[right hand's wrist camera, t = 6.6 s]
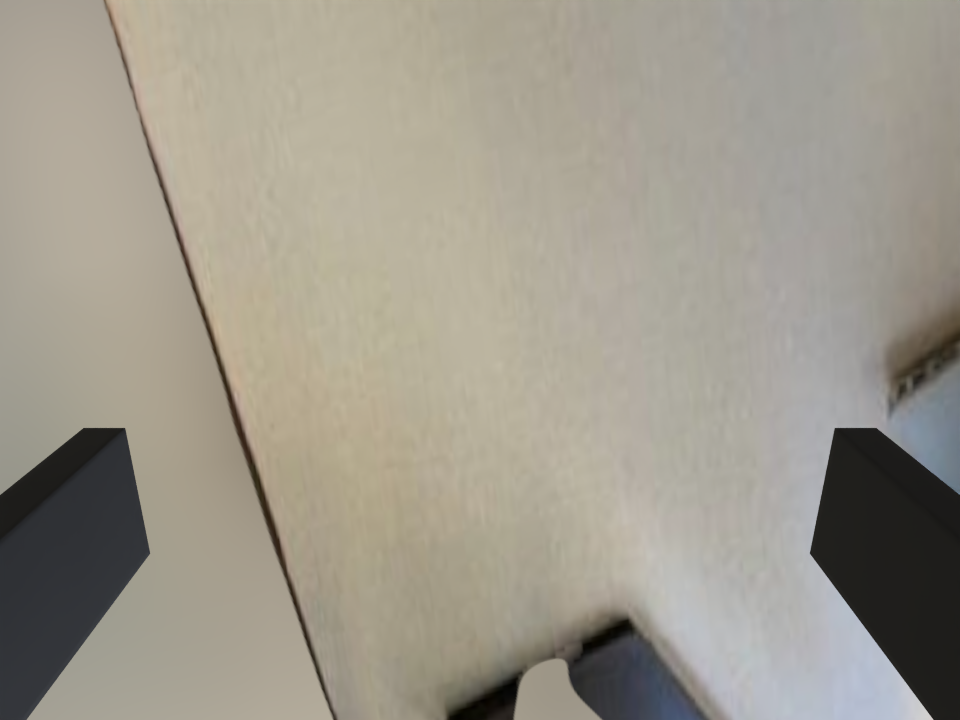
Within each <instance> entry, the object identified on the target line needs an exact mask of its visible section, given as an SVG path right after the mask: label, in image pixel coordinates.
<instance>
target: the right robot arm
mask: <svg viewBox="0 0 960 720" xmlns="http://www.w3.org/2000/svg"><path fill="white" fill-rule="evenodd" d="M149 554H150V551H149V546H148V541H147V536H146V531H145V526H144V521H143V516H142V510H141V505H140V501H139V495H138V490H137V485H136V480H135V476H134V470H133V465H132V460H131V455H130V450H129V445H128V440H127V435H126V430H125V428H83V429H82V430H81V431H79V432H78V433H77V434H76V435H75V436H73V437H72V438H71V439H69V440H68V441H67V442H66V443H65V444H63V445H62V446H61V447H60V448H58V449H57V450H56V451H55V452H53V453H52V454H51V455H50V456H48V457H47V458H46V459H45V460H43V461H42V462H41V463H40V464H38V465H37V466H36V467H35V468H33V469H32V470H31V471H30V472H28V473H27V474H26V475H25V476H23V477H22V478H21V479H20V480H18V481H17V482H16V483H15V484H13V485H12V486H11V487H10V488H9V489H7V490H6V491H5V492H4V493H2V494H1V495H0V720H27V718H28V717H29V715H30V714H31V713H32V711H33V710H34V709H35V707H36V706H37V705H38V703H39V702H40V701H41V699H42V698H43V697H44V695H45V694H46V693H47V691H48V690H49V689H50V687H51V686H52V685H53V683H54V682H55V681H56V679H57V678H58V676H59V675H60V674H61V672H62V671H63V670H64V668H65V667H66V666H67V664H68V663H69V662H70V660H71V659H72V658H73V656H74V655H75V654H76V652H77V651H78V650H79V648H80V647H81V646H82V644H83V643H84V642H85V640H86V639H87V637H88V636H89V635H90V633H91V632H92V631H93V629H94V628H95V627H96V625H97V624H98V623H99V621H100V620H101V619H102V617H103V616H104V615H105V613H106V612H107V611H108V609H109V608H110V607H111V605H112V604H113V603H114V601H115V600H116V599H117V597H118V596H119V594H120V593H121V592H122V590H123V589H124V588H125V586H126V585H127V584H128V582H129V581H130V580H131V578H132V577H133V576H134V574H135V573H136V572H137V570H138V569H139V568H140V566H141V565H142V564H143V562H144V561H145V559H146V558H147V557H148V556H149ZM810 554H811V556H812V557H813V558H814V560H815V561H816V562H817V564H818V565H819V566H820V568H821V569H822V570H823V572H824V573H825V574H826V576H827V577H828V578H829V580H830V581H831V582H832V584H833V585H834V586H835V588H836V589H837V590H838V592H839V593H840V595H841V596H842V597H843V599H844V600H845V601H846V603H847V604H848V605H849V607H850V608H851V609H852V611H853V612H854V613H855V615H856V616H857V617H858V619H859V620H860V621H861V623H862V624H863V625H864V627H865V628H866V629H867V631H868V632H869V633H870V635H871V636H872V638H873V639H874V640H875V642H876V643H877V644H878V646H879V647H880V648H881V650H882V651H883V652H884V654H885V655H886V656H887V658H888V659H889V660H890V662H891V663H892V664H893V666H894V667H895V668H896V670H897V671H898V672H899V674H900V675H901V677H902V678H903V679H904V681H905V682H906V683H907V685H908V686H909V687H910V689H911V690H912V691H913V693H914V694H915V695H916V697H917V698H918V699H919V701H920V702H921V703H922V705H923V706H924V707H925V709H926V710H927V711H928V713H929V714H930V716H931V717H932V718H933V720H960V495H959V494H958V493H956V492H955V491H954V490H953V489H952V488H950V487H949V486H948V485H947V484H945V483H944V482H943V481H942V480H940V479H939V478H938V477H937V476H935V475H934V474H933V473H932V472H930V471H929V470H928V469H927V468H925V467H924V466H923V465H922V464H920V463H919V462H918V461H917V460H915V459H914V458H913V457H912V456H910V455H909V454H908V453H907V452H905V451H904V450H903V449H902V448H900V447H899V446H898V445H897V444H895V443H894V442H893V441H892V440H891V439H889V438H888V437H887V436H886V435H884V434H883V433H882V432H881V431H879V430H878V429H877V428H835V430H834V435H833V440H832V445H831V450H830V455H829V460H828V465H827V470H826V475H825V480H824V485H823V490H822V495H821V500H820V505H819V510H818V516H817V521H816V526H815V531H814V536H813V541H812V546H811V551H810Z"/></svg>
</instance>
